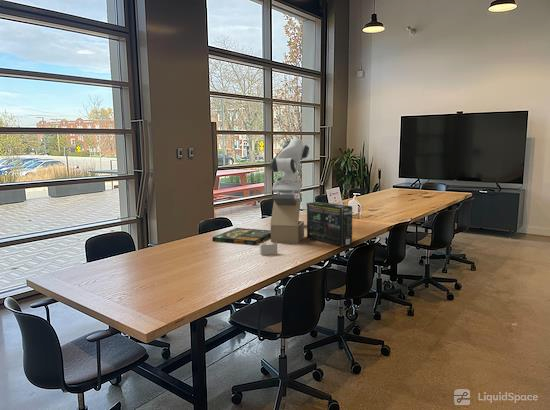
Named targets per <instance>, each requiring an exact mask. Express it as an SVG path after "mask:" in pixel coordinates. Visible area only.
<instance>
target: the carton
mask: <svg viewBox="0 0 550 410" xmlns="http://www.w3.org/2000/svg"><path fill="white" fill-rule="evenodd" d="M270 230H271V237H270V243H275V242H276V243H281V244H282V243H283V244H287V243H288V244H299V243H300V242H301V241H302V240H303V239H304V237H305V221H304V220H299V221H298V226H272V225H270Z"/></svg>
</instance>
